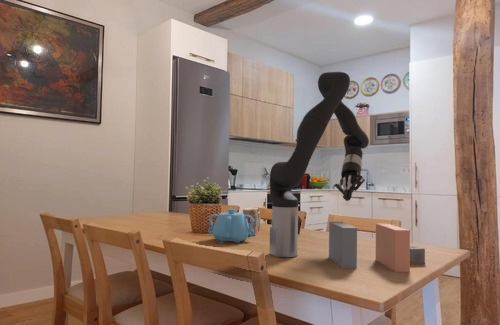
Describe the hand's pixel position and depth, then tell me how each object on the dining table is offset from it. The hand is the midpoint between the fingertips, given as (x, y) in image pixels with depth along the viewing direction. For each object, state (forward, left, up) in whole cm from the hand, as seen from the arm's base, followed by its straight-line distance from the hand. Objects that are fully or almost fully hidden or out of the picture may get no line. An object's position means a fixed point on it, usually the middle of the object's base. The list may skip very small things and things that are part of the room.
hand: (346, 199), depth 139 cm
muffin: (-3, +42, -20) cm, 47 cm away
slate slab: (-11, -15, -20) cm, 27 cm away
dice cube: (+13, -20, -20) cm, 31 cm away
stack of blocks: (-20, +52, -20) cm, 59 cm away
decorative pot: (-36, +31, -20) cm, 52 cm away
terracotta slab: (+2, -22, -20) cm, 30 cm away
